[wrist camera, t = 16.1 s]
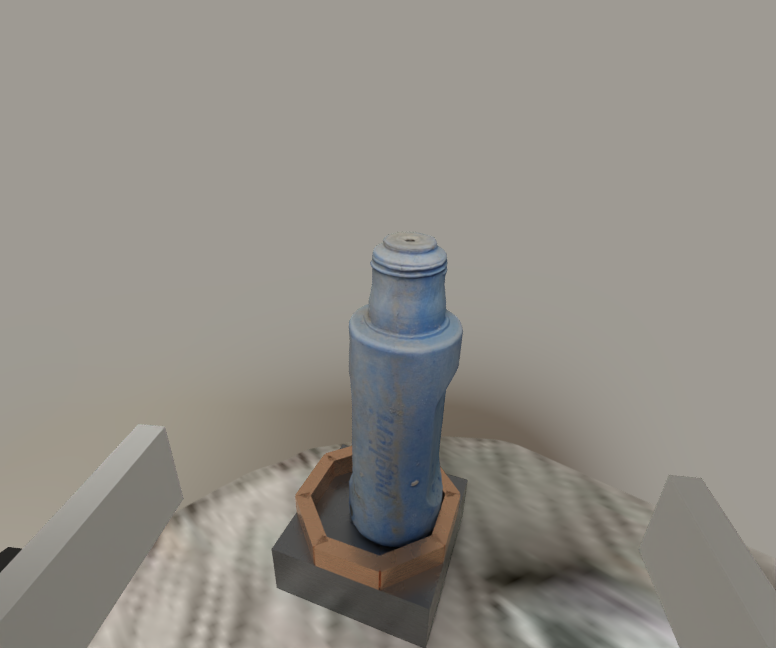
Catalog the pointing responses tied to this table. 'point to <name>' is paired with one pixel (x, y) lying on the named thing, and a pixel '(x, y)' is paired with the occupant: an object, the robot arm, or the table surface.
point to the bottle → (400, 390)
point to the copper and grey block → (365, 556)
